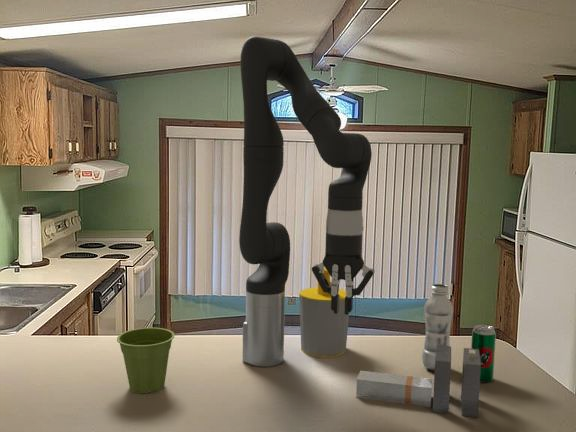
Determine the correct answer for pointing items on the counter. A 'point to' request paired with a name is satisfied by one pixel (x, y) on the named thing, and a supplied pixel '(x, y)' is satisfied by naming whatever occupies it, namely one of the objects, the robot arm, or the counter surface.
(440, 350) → the collar
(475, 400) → the collar
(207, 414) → the counter surface
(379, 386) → the pale grey rectangular bar
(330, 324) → the soap bottle
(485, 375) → the soda can
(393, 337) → the counter surface
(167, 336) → the plant pot
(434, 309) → the plastic bottle
